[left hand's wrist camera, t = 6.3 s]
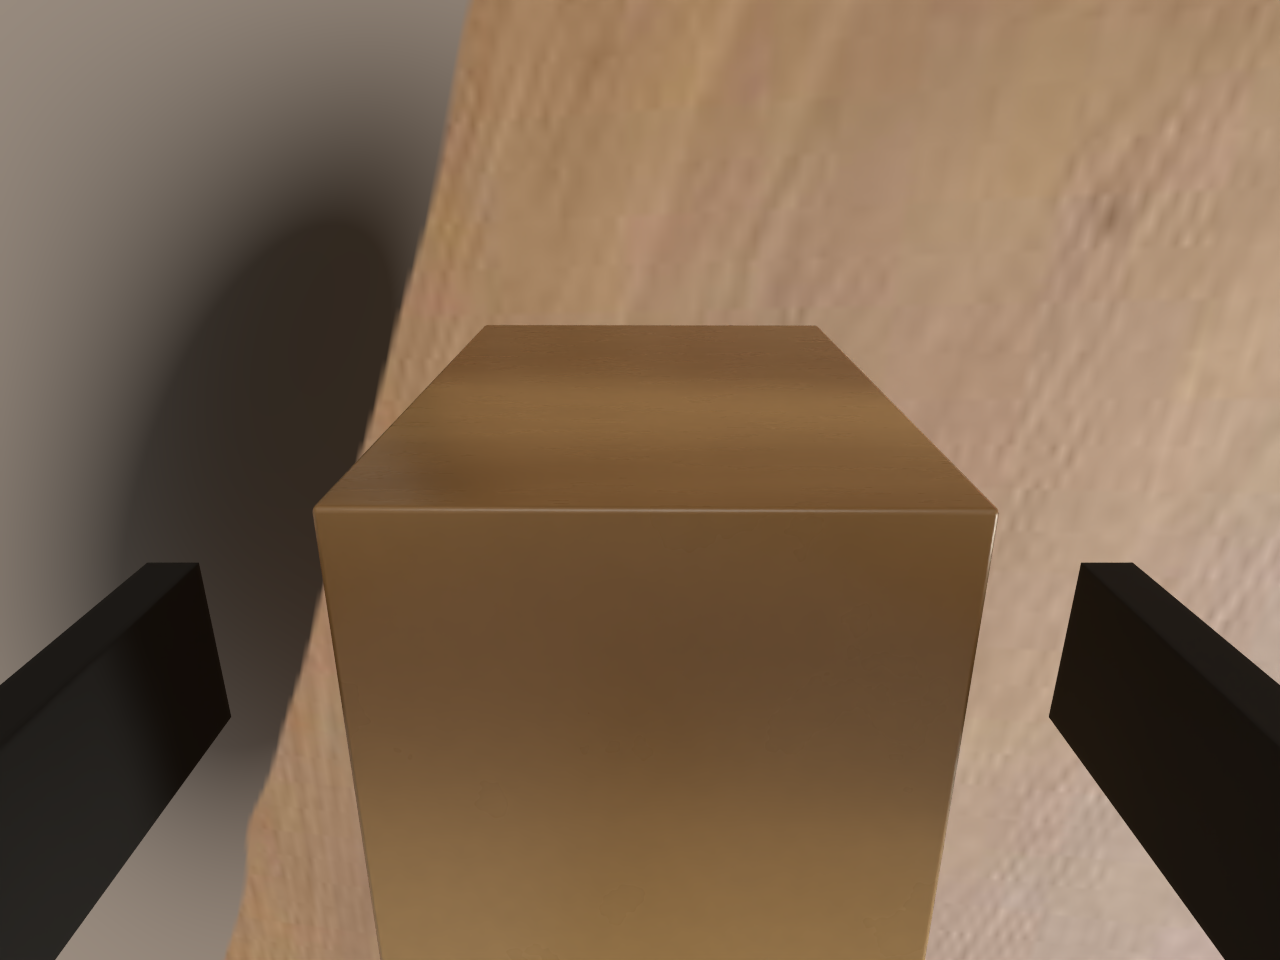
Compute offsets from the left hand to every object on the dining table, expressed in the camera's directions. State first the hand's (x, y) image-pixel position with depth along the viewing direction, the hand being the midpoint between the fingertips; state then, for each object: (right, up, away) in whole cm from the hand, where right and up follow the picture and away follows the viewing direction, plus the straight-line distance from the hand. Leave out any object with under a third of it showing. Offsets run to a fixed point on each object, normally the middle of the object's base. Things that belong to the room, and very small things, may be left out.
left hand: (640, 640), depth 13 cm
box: (0, -6, +10) cm, 12 cm away
